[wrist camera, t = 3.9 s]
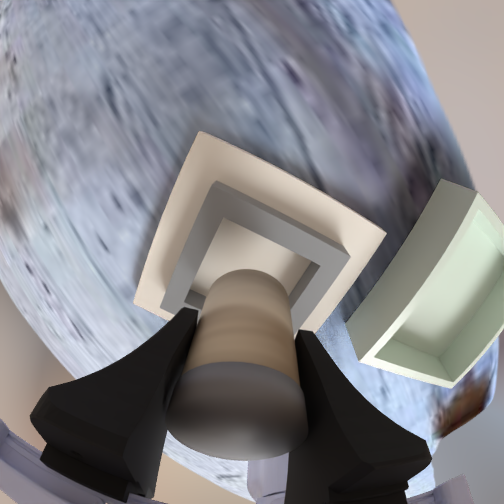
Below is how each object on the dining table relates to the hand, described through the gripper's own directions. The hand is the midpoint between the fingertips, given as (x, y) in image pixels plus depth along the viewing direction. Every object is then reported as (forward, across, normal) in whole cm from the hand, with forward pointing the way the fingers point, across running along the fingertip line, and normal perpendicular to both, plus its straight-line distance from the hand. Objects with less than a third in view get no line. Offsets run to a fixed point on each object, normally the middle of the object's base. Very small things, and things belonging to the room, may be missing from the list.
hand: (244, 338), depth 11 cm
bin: (+7, -15, -1) cm, 17 cm away
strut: (+2, 0, 0) cm, 2 cm away
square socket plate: (+7, 0, 0) cm, 7 cm away
